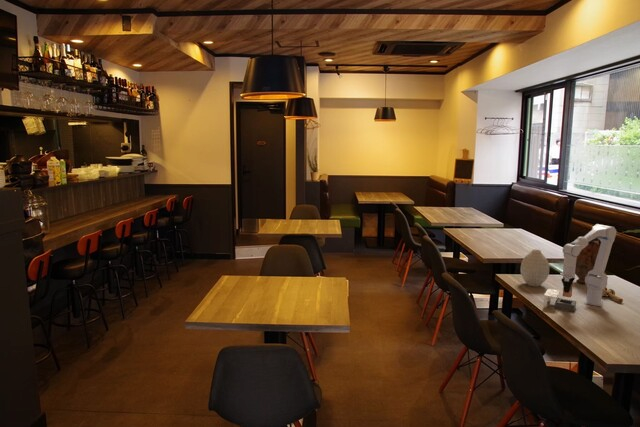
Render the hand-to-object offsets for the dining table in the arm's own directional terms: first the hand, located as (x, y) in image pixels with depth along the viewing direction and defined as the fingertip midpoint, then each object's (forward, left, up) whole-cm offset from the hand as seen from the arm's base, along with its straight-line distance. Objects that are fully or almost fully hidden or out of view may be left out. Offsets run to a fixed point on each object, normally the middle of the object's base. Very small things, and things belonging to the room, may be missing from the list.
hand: (566, 291), depth 255 cm
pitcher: (-59, +5, -9) cm, 60 cm away
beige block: (0, -7, -9) cm, 12 cm away
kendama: (-35, +19, -10) cm, 41 cm away
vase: (-35, -22, -10) cm, 42 cm away
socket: (0, 0, -9) cm, 9 cm away
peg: (0, 0, -2) cm, 3 cm away
